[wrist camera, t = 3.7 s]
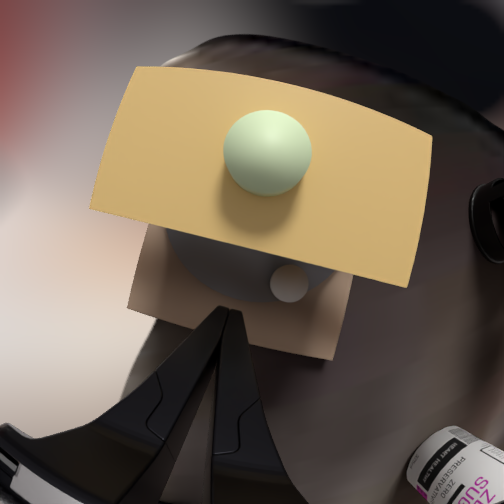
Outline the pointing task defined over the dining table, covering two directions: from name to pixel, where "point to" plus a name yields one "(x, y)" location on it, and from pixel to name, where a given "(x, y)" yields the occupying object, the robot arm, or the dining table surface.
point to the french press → (486, 219)
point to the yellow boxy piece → (268, 170)
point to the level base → (259, 319)
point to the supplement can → (457, 469)
